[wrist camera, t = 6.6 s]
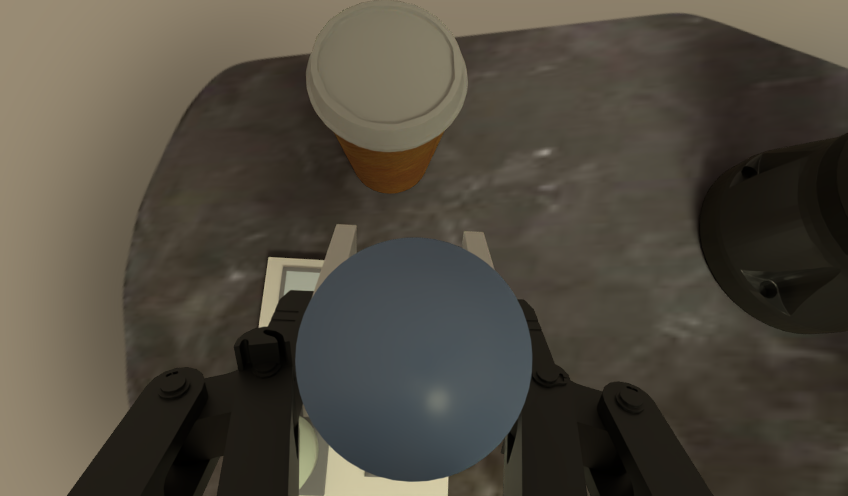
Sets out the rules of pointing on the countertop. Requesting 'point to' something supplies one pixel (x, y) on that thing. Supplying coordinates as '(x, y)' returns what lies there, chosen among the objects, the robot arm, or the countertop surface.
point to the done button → (307, 450)
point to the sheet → (332, 476)
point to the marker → (413, 359)
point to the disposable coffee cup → (387, 88)
